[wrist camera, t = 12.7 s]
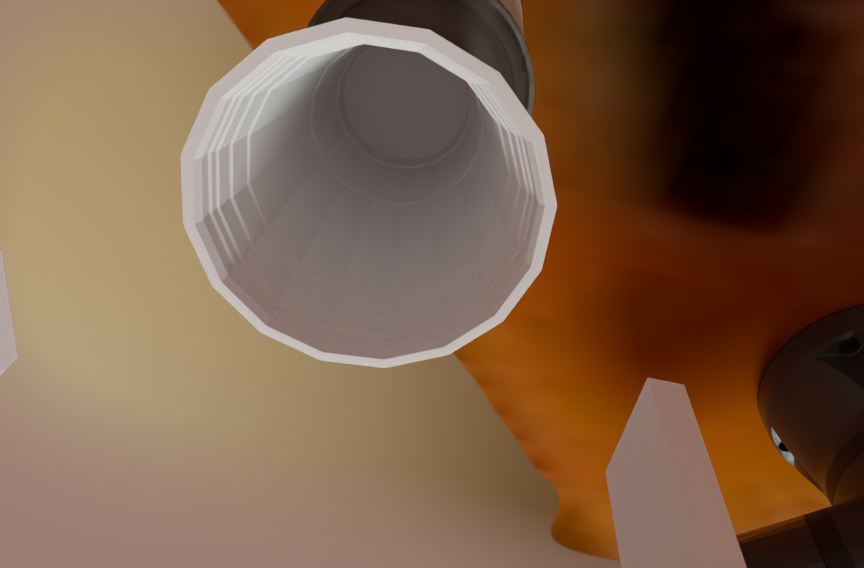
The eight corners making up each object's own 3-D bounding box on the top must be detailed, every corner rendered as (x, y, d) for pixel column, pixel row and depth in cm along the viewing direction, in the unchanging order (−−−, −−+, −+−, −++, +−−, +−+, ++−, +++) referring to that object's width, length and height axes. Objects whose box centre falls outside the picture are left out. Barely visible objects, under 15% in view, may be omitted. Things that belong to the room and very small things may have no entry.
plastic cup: (576, 157, 31) (613, 307, 21) (361, 244, 35) (303, 411, 24) (474, -96, 27) (458, -60, 16) (236, 31, 30) (98, 129, 20)
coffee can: (423, 141, 46) (396, 245, 34) (315, 7, 43) (243, 70, 31) (559, 43, 43) (582, 121, 31) (455, -114, 39) (434, -96, 27)
